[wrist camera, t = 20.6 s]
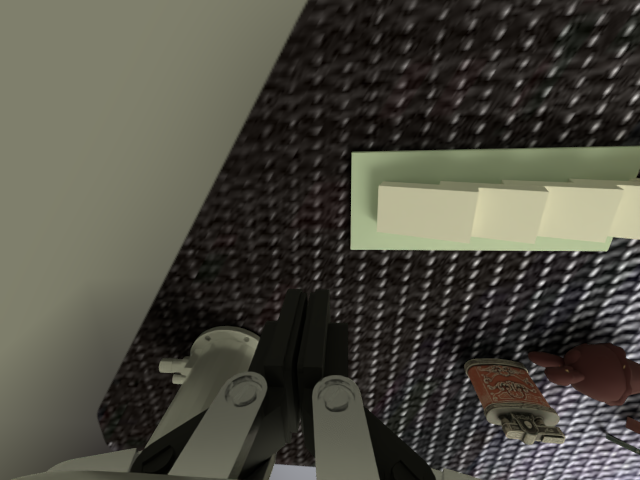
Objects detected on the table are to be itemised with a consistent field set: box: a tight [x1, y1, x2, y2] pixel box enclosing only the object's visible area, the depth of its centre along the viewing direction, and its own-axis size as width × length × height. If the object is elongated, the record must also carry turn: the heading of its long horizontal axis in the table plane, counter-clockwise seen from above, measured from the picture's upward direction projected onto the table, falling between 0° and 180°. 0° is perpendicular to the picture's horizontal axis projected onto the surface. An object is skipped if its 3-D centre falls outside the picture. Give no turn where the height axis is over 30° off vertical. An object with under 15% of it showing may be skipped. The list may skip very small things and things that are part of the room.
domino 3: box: [501, 180, 624, 243], centre depth 29 cm, size 2×5×9 cm
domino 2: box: [440, 181, 549, 244], centre depth 30 cm, size 2×5×9 cm
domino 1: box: [377, 181, 479, 244], centre depth 30 cm, size 2×5×9 cm
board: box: [351, 146, 640, 251], centre depth 32 cm, size 28×11×1 cm, turn 92°
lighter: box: [464, 359, 565, 445], centre depth 37 cm, size 8×3×10 cm, turn 89°
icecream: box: [528, 343, 640, 406], centre depth 37 cm, size 7×8×15 cm
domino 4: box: [568, 179, 640, 239], centre depth 29 cm, size 2×5×9 cm
